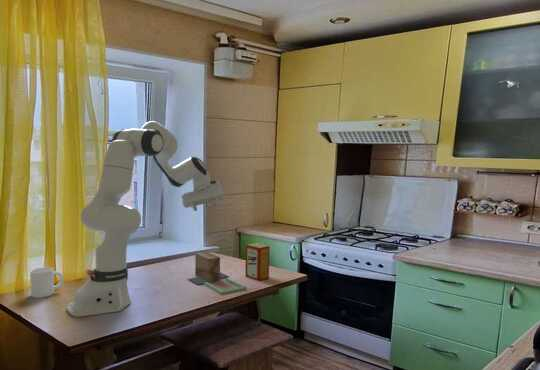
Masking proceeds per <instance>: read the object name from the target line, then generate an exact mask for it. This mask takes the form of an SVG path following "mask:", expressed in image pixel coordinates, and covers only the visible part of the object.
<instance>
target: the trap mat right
mask: <svg viewBox="0 0 540 370" xmlns="http://www.w3.org/2000/svg"><path fill="white" fill-rule="evenodd" d="M225 278H229V276H228V275H227V274H224V273H223V272H220V280H221V279H225Z"/></svg>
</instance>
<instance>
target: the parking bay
mask: <svg viewBox="0 0 540 370" xmlns="http://www.w3.org/2000/svg"><path fill="white" fill-rule="evenodd" d="M224 281H226V282H227V283H230V284H232V285H234V286H236V287H235V288H234V287H233V288H230V289H225V290H222V289H220V288H218V287H216V286H214V285H213V284H211V283H210V282H209V283H208V282H206V281H205V282H204V284H203V285H204V286H206V287H207V288H208V289H211V290H212V291H214V292H216V293H218V294H219V295H225V294H229V293H235V292H239V291H243V290H244V291H245V290H247V289H248V287H247V286H245V285H243V284H241V283H240V282H237V281H235V280H232V279H231V278H229V277H227V278H224Z"/></svg>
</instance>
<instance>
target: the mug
mask: <svg viewBox="0 0 540 370" xmlns="http://www.w3.org/2000/svg"><path fill="white" fill-rule="evenodd" d="M29 276H30V296H31V297H32V298H35V299H43V298H47V297H50V296H53V294H54V291H55V290H57V289H59V288H60V287H62V285H63V283H64V276H63V274H62V272H59V271H55V270H54V268H53V267H47V266H46V267H38V268H34V269H31V270H30V273H29ZM54 276H57V277H59V278H58V279H59V283H57V284H56V285H54V284H55V282H54V281H55V279H54Z"/></svg>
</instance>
